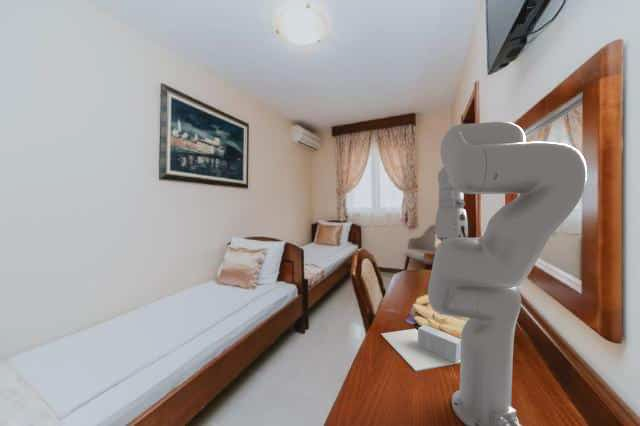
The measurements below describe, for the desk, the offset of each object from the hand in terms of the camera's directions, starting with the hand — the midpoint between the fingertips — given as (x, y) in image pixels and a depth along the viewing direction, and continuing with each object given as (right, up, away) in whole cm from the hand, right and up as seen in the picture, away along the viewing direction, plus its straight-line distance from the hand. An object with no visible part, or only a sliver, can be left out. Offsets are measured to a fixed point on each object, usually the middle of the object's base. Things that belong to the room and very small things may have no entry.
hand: (449, 258), depth 84 cm
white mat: (-12, -29, -3) cm, 31 cm away
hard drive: (-3, -29, +15) cm, 33 cm away
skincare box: (-11, -25, -2) cm, 27 cm away
